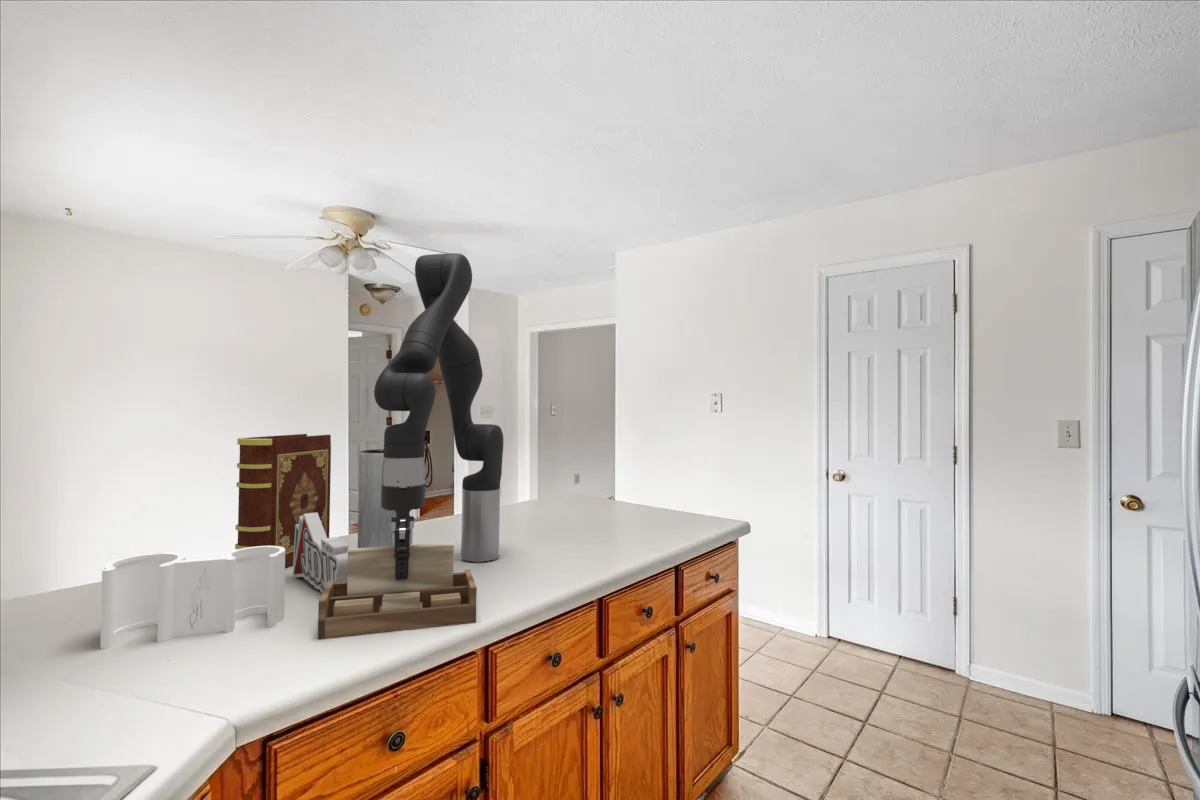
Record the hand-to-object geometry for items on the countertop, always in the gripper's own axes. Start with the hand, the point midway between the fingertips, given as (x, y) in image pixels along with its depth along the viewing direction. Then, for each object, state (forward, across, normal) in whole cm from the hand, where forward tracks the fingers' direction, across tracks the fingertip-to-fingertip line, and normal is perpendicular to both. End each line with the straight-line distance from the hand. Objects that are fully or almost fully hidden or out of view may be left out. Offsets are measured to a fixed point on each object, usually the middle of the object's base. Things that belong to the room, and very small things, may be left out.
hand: (401, 575), depth 102 cm
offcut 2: (+7, +5, +8) cm, 11 cm away
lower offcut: (+7, +5, 0) cm, 9 cm away
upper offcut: (+4, +5, 0) cm, 7 cm away
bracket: (+7, -2, -32) cm, 33 cm away
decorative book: (+7, -41, -27) cm, 50 cm away
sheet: (+7, 0, 0) cm, 7 cm away
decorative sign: (+7, -19, -16) cm, 26 cm away
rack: (+7, +3, 0) cm, 7 cm away
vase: (+7, -31, -5) cm, 32 cm away
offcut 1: (+7, +5, -8) cm, 11 cm away
